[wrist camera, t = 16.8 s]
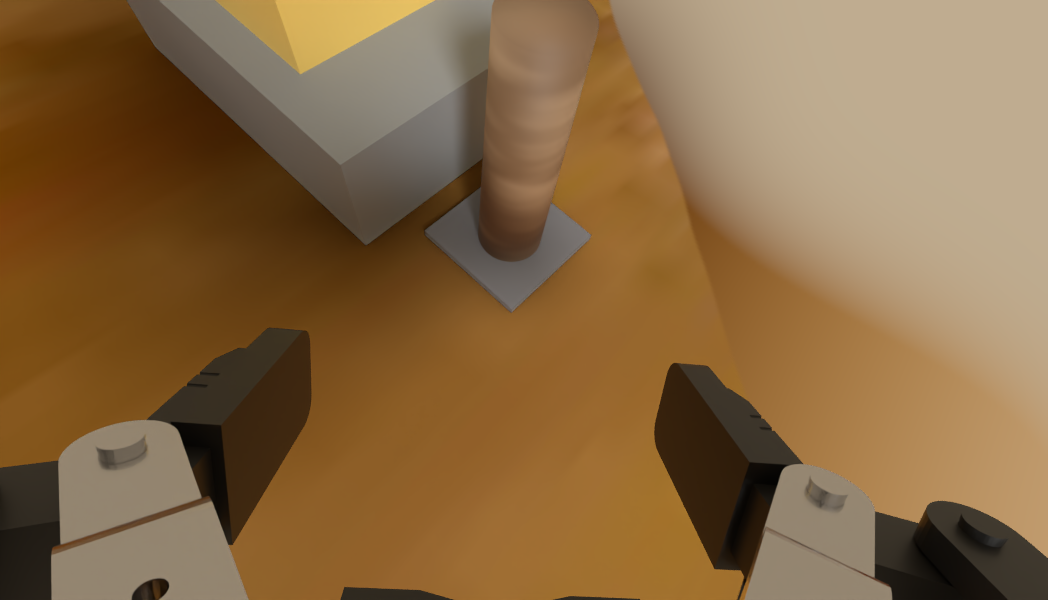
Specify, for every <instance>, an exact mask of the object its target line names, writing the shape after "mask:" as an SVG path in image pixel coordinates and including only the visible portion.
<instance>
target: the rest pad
mask: <svg viewBox="0 0 1048 600" xmlns="http://www.w3.org/2000/svg"><path fill="white" fill-rule="evenodd" d="M480 193H481V187H480V188H479V189H478V190H476V191H475V192H474V193H472V194H471V195H470V196H468V197H467V198H466V199H465V200H463V201H462V202H461V203H459V204H458V205H457V206H456V207H454V208H453V209H452V210H450V211H449V212H448V213H447V214H445V215H444V216H443V217H441V218H440V219H439V220H438V221H436V222H435V223H434V224H432V225H431V226H430V227H428V228H427V229H426V230H425V235H426V236H427V237H428V238H429V239H430V240H431V241H432V242H433V243H434V244H436V245H437V246H438V247H439V248H440V249H441V250H442V251H443V252H444V253H446V254H447V255H448V256H449V257H450V258H451V259H452V260H453V261H454V262H456V263H457V264H458V265H459V266H460V267H461V268H462V269H463V270H464V271H466V272H467V273H468V274H469V275H470V276H471V277H472V278H473V279H474V280H475V281H477V282H478V283H479V284H480V285H481V286H482V287H483V288H484V289H485V290H487V291H488V292H489V293H490V294H491V295H492V296H493V297H494V298H495V299H497V300H498V301H499V302H500V303H501V304H502V305H503V306H504V307H505V308H507V309H508V310H509V311H510V312H511V313H512V312H513V311H514V310H515V309H516V308H517V307H518V306H519V305H520V304H521V303H522V302H523V301H524V300H525V299H526V298H527V297H529V296H530V295H531V294H532V293H533V292H534V291H535V290H536V289H537V288H538V287H539V286H540V285H541V284H542V283H543V282H545V281H546V280H547V279H548V278H549V277H550V276H551V275H552V274H553V273H554V272H555V271H556V270H557V269H558V268H559V267H561V266H562V265H563V264H564V263H565V262H566V261H567V260H568V259H569V258H570V257H571V256H572V255H573V254H574V253H575V252H576V251H578V250H579V249H580V248H581V247H582V246H583V245H584V244H585V243H586V242H587V241H588V240H589V239H590V237H591V235H590V234H589V233H588V232H587V231H585V230H584V229H583V228H582V227H581V226H579V225H578V224H577V223H576V222H575V221H573V220H572V219H571V218H570V217H568V216H567V215H566V214H565V213H564V212H562V211H561V210H560V209H559V208H557V207H556V206H555V205H554V204H553V203H551V205H550V209H549V212H548V216H547V220H546V223H545V227H544V231H543V234H542V238H541V242H540V245H539V247H538V249H537V250H536V252H535V253H534V254H532V255H531V256H530V257H528V258H526V259H524V260H521V261H516V262H506V261H502V260H498V259H496V258H494V257H492V256H491V255H489V254H488V253H487V252H486V251H485V250H484V249H483V247H482V246H481V244H480V241H479V238H478V226H479V210H480Z"/></svg>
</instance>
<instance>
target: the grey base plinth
mask: <svg viewBox="0 0 1048 600" xmlns="http://www.w3.org/2000/svg"><path fill="white" fill-rule="evenodd" d="M127 2H128V4H129V5H130V7H131V8H132V10H133V12H134V13H135V15H136V17H137V18H138V20H139V21H140V23H141V25H142V26H143V28H144V30H145V31H146V33H147V34H148V36H149V38H150V39H151V41H152V42H153V44H154V46H155V47H156V48H157V49H158V50H159V51H160V52H161V53H162V54H163V55H164V56H165V57H166V58H168V59H169V60H170V61H171V62H172V63H173V64H174V65H175V66H176V67H177V68H178V69H179V70H180V71H181V72H182V73H183V74H184V75H186V76H187V77H188V78H189V79H190V80H191V81H192V82H193V83H194V84H195V85H196V86H197V87H198V88H199V89H200V90H201V91H203V92H204V93H205V94H206V95H207V96H208V97H209V98H210V99H211V100H212V101H213V102H214V103H215V104H216V105H217V106H218V107H219V108H221V109H222V110H223V111H224V112H225V113H226V114H227V115H228V116H229V117H230V118H231V119H232V120H233V121H234V122H235V123H236V124H238V125H239V126H240V127H241V128H242V129H243V130H244V131H245V132H246V133H247V134H248V135H249V136H250V137H251V138H252V139H253V140H254V141H256V142H257V143H258V144H259V145H260V146H261V147H262V148H263V149H264V150H265V151H266V152H267V153H268V154H269V155H270V156H271V157H273V158H274V159H275V160H276V161H277V162H278V163H279V164H280V165H281V166H282V167H283V168H284V169H285V170H286V171H287V172H288V173H289V174H291V175H292V176H293V177H294V178H295V179H296V180H297V181H298V182H299V183H300V184H301V185H302V186H303V187H304V188H305V189H306V190H308V191H309V192H310V193H311V194H312V195H313V196H314V197H315V198H316V199H317V200H318V201H319V202H320V203H321V204H322V205H323V206H324V207H326V208H327V209H328V210H329V211H330V212H331V213H332V214H333V215H334V216H335V217H336V218H337V219H338V220H339V221H340V222H341V223H343V224H344V225H345V226H346V227H347V228H348V229H349V230H350V231H351V232H352V233H353V234H354V235H355V236H356V237H357V238H358V239H359V240H361V241H362V242H363V243H364V244H365V245H367V244H369V243H370V242H371V241H373V240H374V239H375V238H377V237H378V236H380V235H381V234H382V233H384V232H385V231H386V230H388V229H389V228H390V227H392V226H393V225H394V224H396V223H397V222H398V221H400V220H401V219H402V218H404V217H405V216H406V215H408V214H409V213H410V212H412V211H413V210H414V209H416V208H417V207H418V206H420V205H421V204H422V203H424V202H425V201H426V200H428V199H429V198H430V197H432V196H433V195H434V194H436V193H437V192H438V191H440V190H441V189H442V188H444V187H445V186H447V185H448V184H449V183H451V182H452V181H453V180H455V179H456V178H457V177H459V176H460V175H461V174H463V173H464V172H465V171H467V170H468V169H469V168H471V167H472V166H473V165H475V164H476V163H477V162H479V161H480V160H481V159H483V144H484V127H485V111H486V94H487V78H488V61H489V45H490V29H491V12H492V5H493V2H494V0H127Z"/></svg>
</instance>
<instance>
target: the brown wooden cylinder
mask: <svg viewBox="0 0 1048 600" xmlns="http://www.w3.org/2000/svg"><path fill="white" fill-rule="evenodd" d="M598 29H599V19H598V15H597V13H596V10H595V9H594V7H593V6H592V5H591V3H590V2H589V1H588V0H494V2H493V5H492V12H491V29H490V45H489V61H488V78H487V94H486V111H485V127H484V144H483V160H482V177H481V193H480V210H479V226H478V238H479V241H480V244H481V246H482V247H483V249H484V250H485V251H486V252H487V253H488V254H489V255H491V256H492V257H494V258H496V259H498V260H502V261H506V262H516V261H521V260H524V259H526V258H528V257H530V256H531V255H532V254H534V253H535V252H536V250H537V249H538V247H539V245H540V242H541V238H542V234H543V231H544V227H545V223H546V220H547V216H548V212H549V209H550V205H551V201H552V198H553V194H554V190H555V187H556V183H557V179H558V176H559V172H560V168H561V165H562V161H563V157H564V154H565V150H566V146H567V143H568V139H569V135H570V132H571V128H572V124H573V121H574V117H575V113H576V110H577V106H578V102H579V99H580V95H581V91H582V88H583V84H584V80H585V77H586V73H587V69H588V66H589V62H590V58H591V55H592V51H593V47H594V44H595V40H596V36H597V33H598Z"/></svg>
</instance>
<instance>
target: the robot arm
mask: <svg viewBox="0 0 1048 600" xmlns="http://www.w3.org/2000/svg"><path fill="white" fill-rule="evenodd" d="M310 405H311V362H310V339H309V335H308V333H307V331H302V330H291V329H279V328H267V329H266V330H265V331H264V332H263V333H262V334H261V335H260V336H259V337H258V338H257V339H256V340H255V341H254V342H253V343H252V344H250V345H249V346H248V347H247V348H237V349H235V350H233V351H231V352H229V353H226V354H224V355H222V356H220V357H218V358H215V359H214V360H213V361H212V362H211V363H210V364H209V365H207V366H206V367H205V368H204V369H203V370H202V371H201V372H200V375H196V376H195V377H194V378H193V379H192V380H191V381H189V382H188V383H187V386H184V387H183V388H182V389H180V390H179V391H178V392H177V393H176V394H175V395H174V396H173V397H171V398H170V399H169V400H168V401H167V402H166V403H165V404H164V405H162V406H161V407H160V408H159V409H158V410H157V411H156V412H155V413H153V414H152V415H151V416H150V417H149V418H148V419H147V420H136V421H128V422H123V423H118V424H114V425H110V426H107V427H104V428H101V429H98V430H96V431H93V432H91V433H89V434H87V435H85V436H83V437H81V438H79V439H78V440H76V441H75V442H73V443H72V444H71V445H70V446H68V447H67V448H66V449H65V450H64V452H63V453H62V454H61V456H60V458H59V461H52V462H44V463H36V464H28V465H19V466H11V467H3V468H0V600H248V597H247V594H246V592H245V589H244V586H243V584H242V581H241V578H240V575H239V573H238V570H237V567H236V565H235V562H234V559H233V556H232V554H231V551H230V548H229V546H228V545H233V543H234V542H235V540H236V538H237V537H238V535H239V533H240V532H241V530H242V528H243V527H244V525H245V523H246V522H247V520H248V518H249V517H250V515H251V513H252V512H253V510H254V508H255V507H256V505H257V503H258V502H259V500H260V498H261V497H262V495H263V493H264V492H265V490H266V488H267V487H268V485H269V483H270V482H271V480H272V478H273V477H274V475H275V473H276V472H277V470H278V468H279V467H280V465H281V463H282V462H283V460H284V459H285V457H286V455H287V454H288V452H289V450H290V449H291V447H292V445H293V444H294V442H295V440H296V439H297V437H298V435H299V434H300V432H301V430H302V429H303V427H304V425H305V423H306V421H307V418H308V415H309V410H310ZM654 435H655V444H656V448H657V450H658V453H659V455H660V457H661V459H662V461H663V463H664V465H665V467H666V469H667V471H668V473H669V475H670V478H671V480H672V482H673V484H674V486H675V488H676V490H677V492H678V494H679V496H680V498H681V500H682V502H683V505H684V507H685V509H686V511H687V513H688V515H689V517H690V519H691V521H692V523H693V525H694V527H695V529H696V531H697V534H698V536H699V538H700V540H701V542H702V544H703V546H704V548H705V550H706V552H707V554H708V556H709V558H710V561H711V563H712V565H713V567H714V569H723V570H741V571H742V573H743V575H744V579H743V582H742V585H741V587H740V590H739V593H738V596H737V599H736V600H1048V558H1047V557H1046V556H1044V555H1043V554H1042V553H1041V552H1040V551H1039V550H1037V549H1036V548H1035V547H1034V546H1033V545H1032V544H1030V543H1029V542H1028V541H1027V540H1025V539H1024V538H1023V537H1022V536H1021V535H1019V534H1018V533H1017V532H1016V531H1014V530H1013V529H1011V528H1010V527H1008V526H1007V525H1005V524H1004V523H1002V522H1000V521H999V520H997V519H995V518H993V517H991V516H989V515H987V514H985V513H983V512H981V511H978V510H976V509H973V508H971V507H968V506H965V505H962V504H957V503H953V502H947V501H936V502H932V503H930V504H929V505H928V506H927V508H926V510H925V512H924V514H923V516H922V518H921V520H920V522H919V523H915V522H912V521H908V520H904V519H900V518H897V517H893V516H890V515H886V514H882V513H879V512H875V509H874V506H873V504H872V502H871V500H870V499H869V497H868V496H867V495H866V494H865V493H864V492H863V491H862V490H860V489H859V488H858V487H857V486H856V485H854V484H853V483H851V482H850V481H848V480H846V479H845V478H843V477H841V476H839V475H837V474H835V473H833V472H831V471H828V470H825V469H823V468H819V467H816V466H811V465H804V464H803V463H802V462H801V461H800V460H799V459H798V457H797V456H796V455H795V454H794V453H793V452H792V451H791V449H790V448H789V447H788V446H787V445H786V444H785V442H784V441H783V440H782V439H781V438H780V437H779V436H778V434H777V433H776V432H775V431H772V429H771V427H770V425H769V424H768V423H767V422H766V421H765V420H764V419H761V415H760V414H759V413H758V412H757V410H756V409H754V407H753V406H752V405H751V404H750V403H749V401H747V400H746V399H744V398H743V397H741V396H740V395H738V394H736V393H735V392H733V391H732V390H730V389H727V388H726V387H725V386H724V385H723V383H722V382H721V381H720V380H719V379H718V377H717V376H716V375H715V374H714V373H713V371H712V370H711V369H710V368H709V367H708V366H704V365H692V364H681V363H673V364H672V365H671V366H670V368H669V370H668V373H667V377H666V381H665V385H664V389H663V393H662V397H661V401H660V405H659V409H658V413H657V418H656V422H655V431H654ZM341 600H453V599H449V598H446V597H442V596H439V595H435V594H432V593H428V592H424V591H421V590H402V589H377V588H351V587H344V590H343V594H342V597H341ZM555 600H640V599H627V598H602V597H577V596H569V597H564V598H559V599H555Z"/></svg>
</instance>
